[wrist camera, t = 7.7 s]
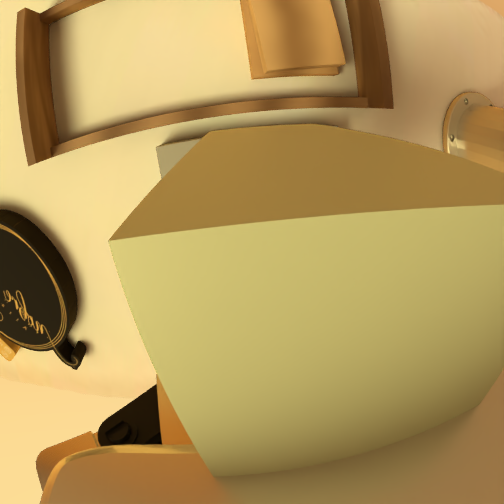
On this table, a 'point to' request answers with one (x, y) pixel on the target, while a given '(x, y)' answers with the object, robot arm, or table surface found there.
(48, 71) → the frame
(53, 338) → the decorative sign
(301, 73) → the block
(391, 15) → the table surface
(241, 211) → the pale green block
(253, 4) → the upper offcut
